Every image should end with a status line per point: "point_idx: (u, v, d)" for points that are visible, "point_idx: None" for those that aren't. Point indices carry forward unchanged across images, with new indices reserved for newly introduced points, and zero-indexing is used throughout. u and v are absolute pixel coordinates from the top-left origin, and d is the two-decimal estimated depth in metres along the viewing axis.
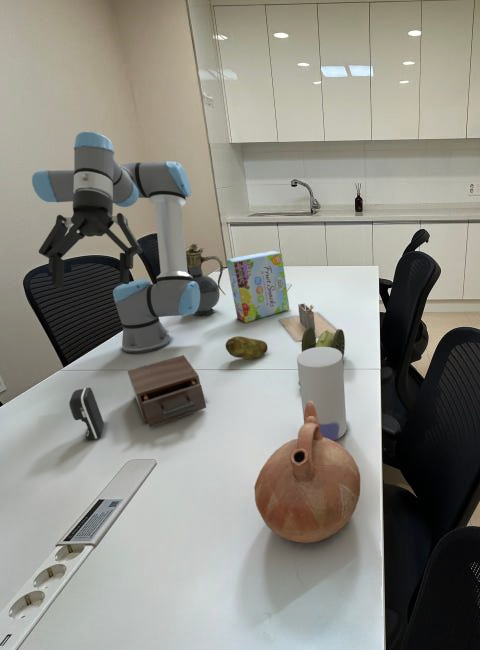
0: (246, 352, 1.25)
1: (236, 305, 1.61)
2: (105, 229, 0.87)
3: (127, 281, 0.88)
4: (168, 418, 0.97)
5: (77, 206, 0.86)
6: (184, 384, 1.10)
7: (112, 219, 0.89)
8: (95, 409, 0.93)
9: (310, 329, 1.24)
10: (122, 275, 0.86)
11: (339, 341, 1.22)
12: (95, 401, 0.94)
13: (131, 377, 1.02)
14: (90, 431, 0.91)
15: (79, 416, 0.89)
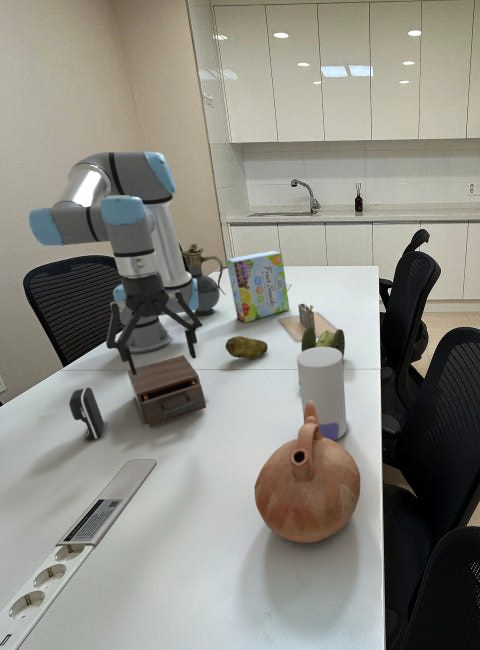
0: (246, 352, 1.25)
1: (236, 305, 1.61)
2: (169, 312, 0.86)
3: None
4: (168, 418, 0.97)
5: (138, 295, 0.81)
6: (184, 384, 1.10)
7: (169, 297, 0.86)
8: (95, 409, 0.93)
9: (310, 329, 1.24)
10: (194, 353, 0.93)
11: (339, 341, 1.22)
12: (95, 401, 0.94)
13: (131, 377, 1.02)
14: (90, 431, 0.91)
15: (79, 416, 0.89)
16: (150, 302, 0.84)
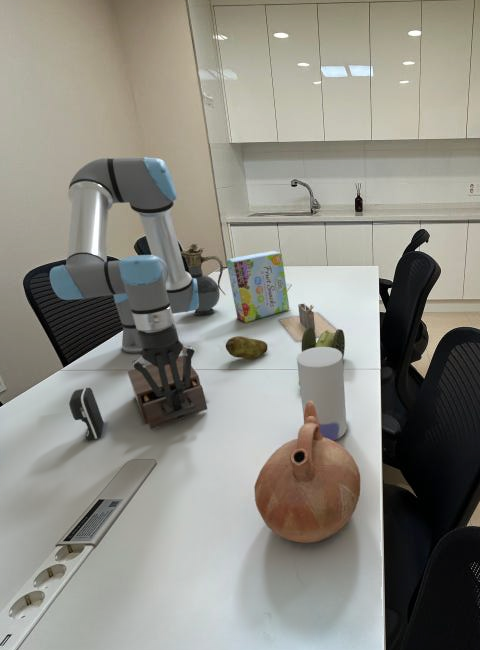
0: (246, 352, 1.25)
1: (236, 305, 1.61)
2: (174, 366, 0.89)
3: None
4: (169, 420, 0.96)
5: (154, 348, 0.84)
6: None
7: (182, 349, 0.90)
8: (95, 409, 0.93)
9: (310, 329, 1.24)
10: None
11: (339, 341, 1.22)
12: (95, 401, 0.94)
13: (131, 377, 1.02)
14: (90, 431, 0.91)
15: (79, 416, 0.89)
16: (165, 352, 0.88)
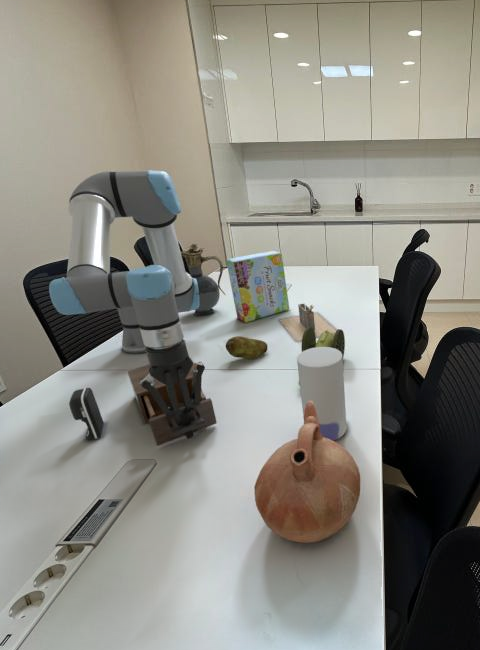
0: (246, 352, 1.25)
1: (236, 305, 1.61)
2: (184, 384, 0.84)
3: None
4: (176, 435, 0.90)
5: (163, 366, 0.79)
6: None
7: (192, 366, 0.85)
8: (95, 409, 0.93)
9: (310, 329, 1.24)
10: (192, 432, 0.89)
11: (339, 341, 1.22)
12: (95, 401, 0.94)
13: (131, 377, 1.02)
14: (90, 431, 0.91)
15: (79, 416, 0.89)
16: (174, 370, 0.82)
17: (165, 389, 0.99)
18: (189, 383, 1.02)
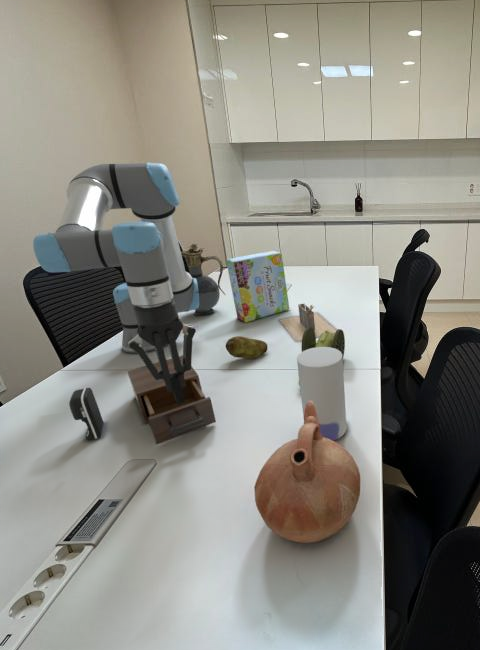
0: (246, 352, 1.25)
1: (236, 305, 1.61)
2: (174, 347, 0.81)
3: None
4: (176, 434, 0.91)
5: (152, 326, 0.76)
6: (192, 396, 1.04)
7: (182, 328, 0.82)
8: (95, 409, 0.93)
9: (310, 329, 1.24)
10: (183, 398, 0.86)
11: (339, 341, 1.22)
12: (95, 401, 0.94)
13: (131, 377, 1.02)
14: (90, 431, 0.91)
15: (79, 416, 0.89)
16: (164, 331, 0.80)
17: (164, 388, 0.99)
18: (188, 382, 1.03)
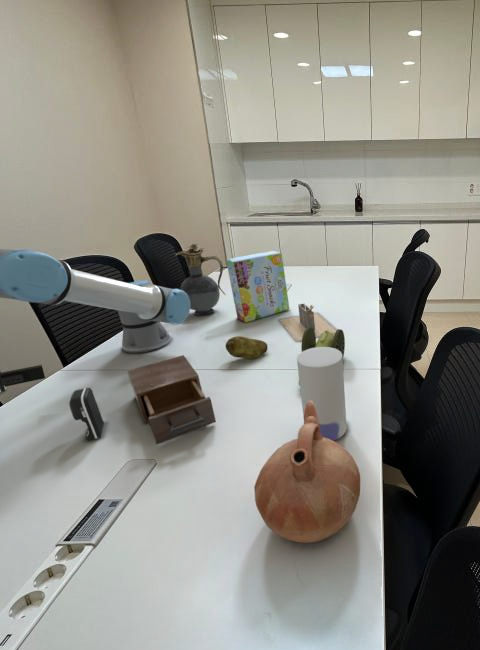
0: (246, 352, 1.25)
1: (236, 305, 1.61)
2: None
3: (40, 370, 0.83)
4: (176, 434, 0.91)
5: None
6: (192, 396, 1.04)
7: None
8: (95, 409, 0.93)
9: (310, 329, 1.24)
10: (38, 379, 0.83)
11: (339, 341, 1.22)
12: (95, 401, 0.94)
13: (131, 377, 1.02)
14: (90, 431, 0.91)
15: (79, 416, 0.89)
16: None
17: (164, 388, 0.99)
18: (188, 382, 1.03)
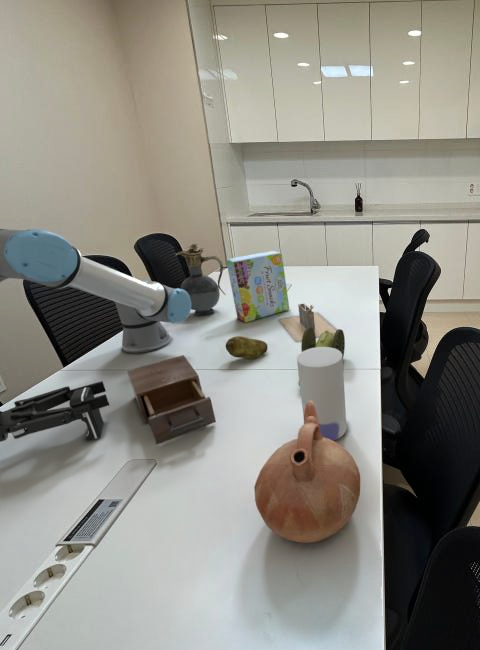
0: (246, 352, 1.25)
1: (236, 305, 1.61)
2: None
3: (105, 398, 0.90)
4: (176, 434, 0.91)
5: None
6: (192, 396, 1.04)
7: None
8: None
9: (310, 329, 1.24)
10: (103, 406, 0.90)
11: (339, 341, 1.22)
12: None
13: (131, 377, 1.02)
14: (90, 431, 0.91)
15: (80, 416, 0.89)
16: None
17: (164, 388, 0.99)
18: (188, 382, 1.03)
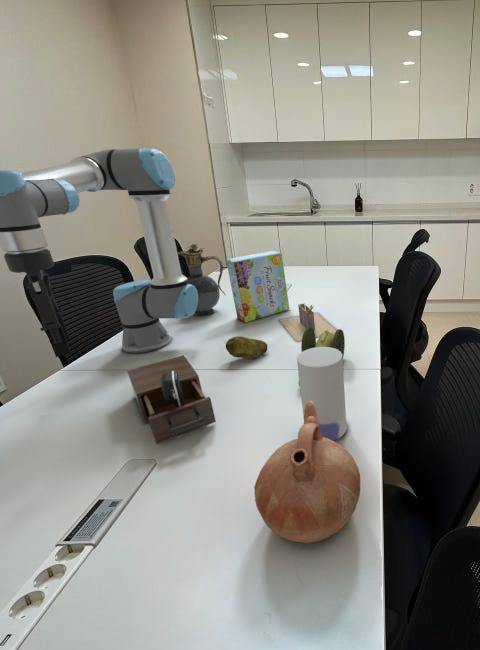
0: (246, 352, 1.25)
1: (236, 305, 1.61)
2: (32, 298, 0.81)
3: (66, 353, 0.86)
4: (176, 434, 0.91)
5: None
6: (191, 396, 1.04)
7: None
8: (181, 392, 0.96)
9: (310, 329, 1.24)
10: (54, 352, 0.84)
11: (339, 341, 1.22)
12: (180, 384, 0.97)
13: (131, 377, 1.02)
14: None
15: (171, 398, 0.91)
16: None
17: None
18: (188, 382, 1.03)
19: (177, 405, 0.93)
